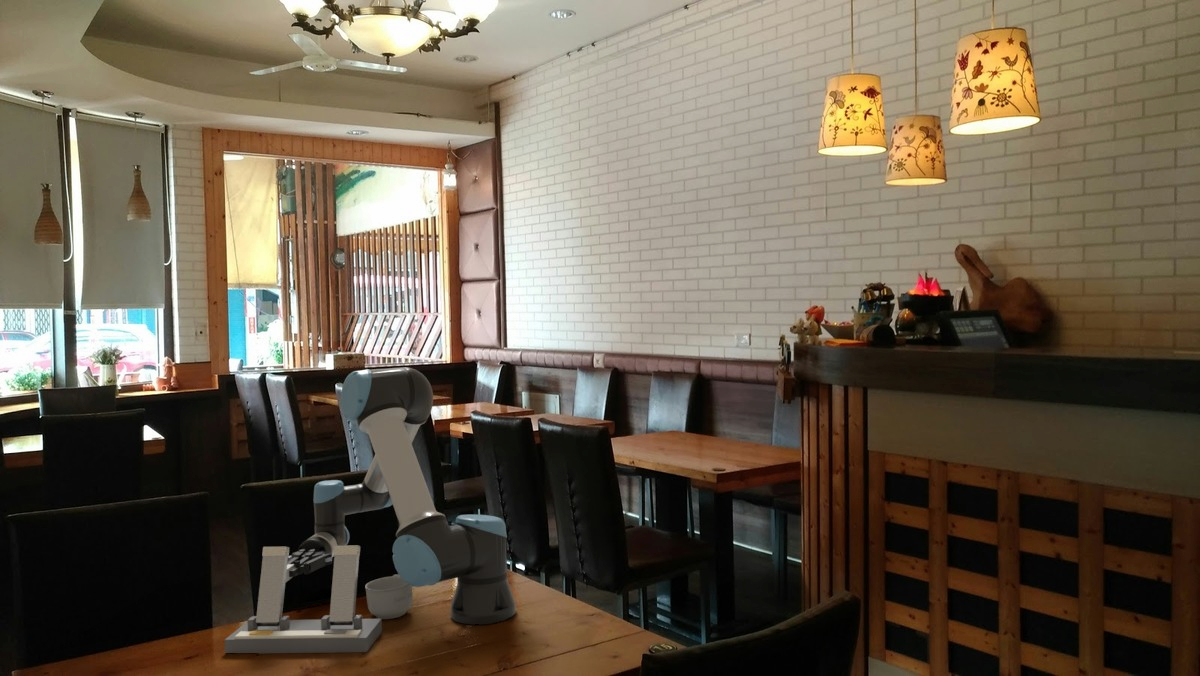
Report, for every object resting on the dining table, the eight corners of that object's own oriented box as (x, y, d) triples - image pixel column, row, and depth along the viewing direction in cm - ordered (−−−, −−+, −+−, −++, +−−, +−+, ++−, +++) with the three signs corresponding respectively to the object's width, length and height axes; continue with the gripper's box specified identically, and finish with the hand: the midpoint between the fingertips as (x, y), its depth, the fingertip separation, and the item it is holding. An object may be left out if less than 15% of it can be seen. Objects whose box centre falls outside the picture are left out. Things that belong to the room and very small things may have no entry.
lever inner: (354, 625, 194) (360, 546, 199) (351, 625, 191) (357, 545, 197) (331, 625, 194) (338, 546, 199) (328, 625, 191) (334, 545, 197)
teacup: (401, 624, 204) (400, 589, 204) (357, 621, 206) (356, 587, 206) (425, 604, 217) (424, 572, 217) (384, 602, 220) (383, 570, 219)
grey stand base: (381, 631, 199) (381, 607, 198) (366, 652, 187) (365, 626, 187) (248, 633, 199) (248, 609, 199) (225, 653, 187) (224, 628, 187)
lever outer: (281, 626, 194) (289, 547, 199) (277, 626, 192) (285, 546, 197) (259, 626, 194) (267, 547, 199) (254, 626, 192) (263, 546, 197)
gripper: (343, 565, 224) (309, 594, 201) (291, 566, 225) (252, 595, 201) (342, 535, 224) (308, 561, 200) (291, 536, 224) (251, 562, 201)
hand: (280, 578), depth 201 cm, fingers closed
